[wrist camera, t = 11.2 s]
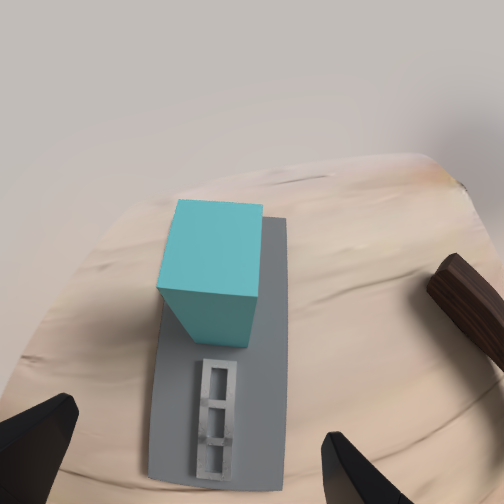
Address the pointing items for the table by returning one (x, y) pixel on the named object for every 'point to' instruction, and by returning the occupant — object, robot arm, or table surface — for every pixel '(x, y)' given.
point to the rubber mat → (246, 391)
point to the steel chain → (204, 420)
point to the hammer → (470, 305)
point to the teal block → (213, 269)
